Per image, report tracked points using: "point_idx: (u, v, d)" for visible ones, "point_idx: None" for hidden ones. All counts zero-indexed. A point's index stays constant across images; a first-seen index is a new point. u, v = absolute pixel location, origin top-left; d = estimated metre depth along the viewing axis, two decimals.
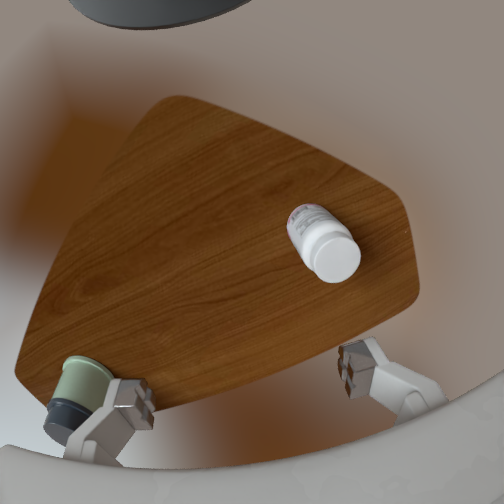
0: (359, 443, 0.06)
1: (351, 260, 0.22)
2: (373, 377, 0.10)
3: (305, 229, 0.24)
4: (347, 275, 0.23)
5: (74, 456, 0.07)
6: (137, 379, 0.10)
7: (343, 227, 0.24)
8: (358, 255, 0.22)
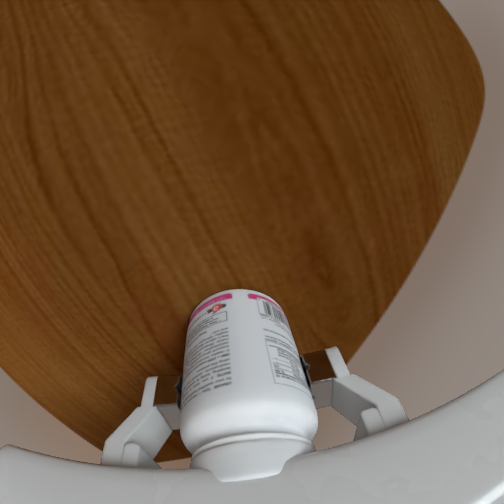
0: (359, 443, 0.06)
1: None
2: (333, 389, 0.09)
3: (293, 381, 0.09)
4: None
5: (114, 461, 0.07)
6: (176, 376, 0.10)
7: None
8: None
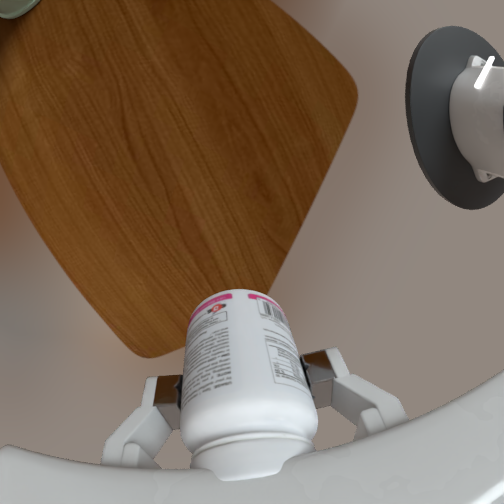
0: (359, 443, 0.06)
1: None
2: (333, 389, 0.09)
3: (293, 381, 0.09)
4: None
5: (114, 461, 0.07)
6: (176, 376, 0.10)
7: None
8: None
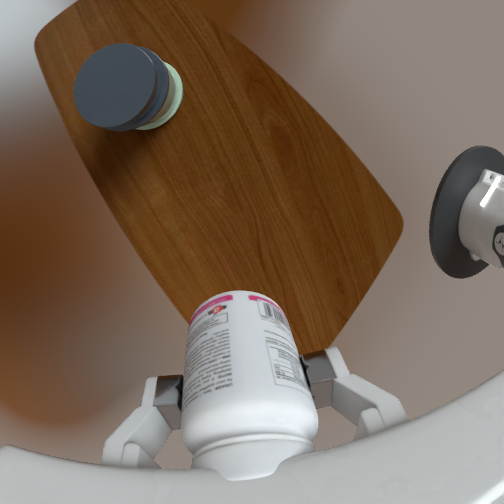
0: (359, 443, 0.06)
1: None
2: (333, 389, 0.09)
3: (293, 382, 0.09)
4: None
5: (114, 461, 0.07)
6: (176, 376, 0.10)
7: None
8: None
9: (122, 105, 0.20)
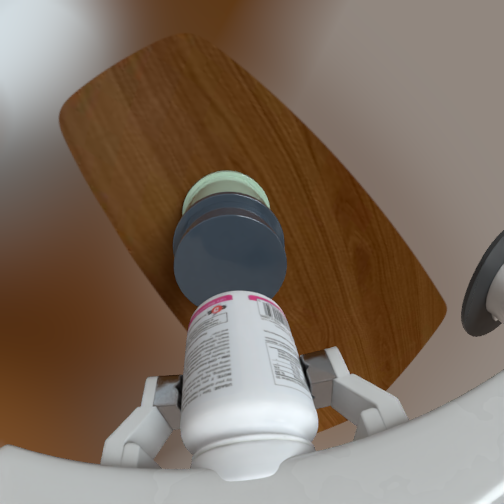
0: (359, 443, 0.06)
1: None
2: (333, 389, 0.09)
3: (293, 382, 0.09)
4: None
5: (114, 461, 0.07)
6: (176, 376, 0.10)
7: None
8: None
9: None
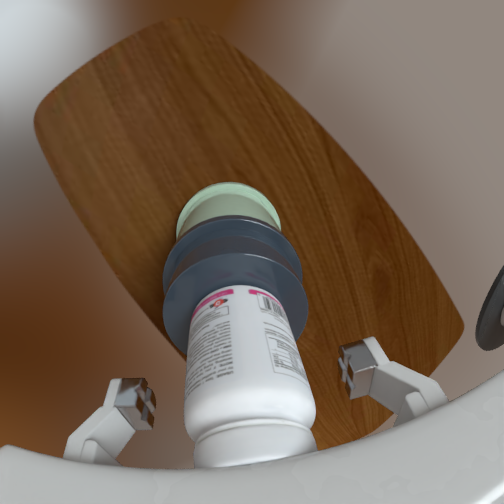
0: (359, 443, 0.06)
1: None
2: (373, 377, 0.10)
3: (291, 370, 0.09)
4: None
5: (74, 456, 0.07)
6: (137, 379, 0.10)
7: None
8: None
9: None
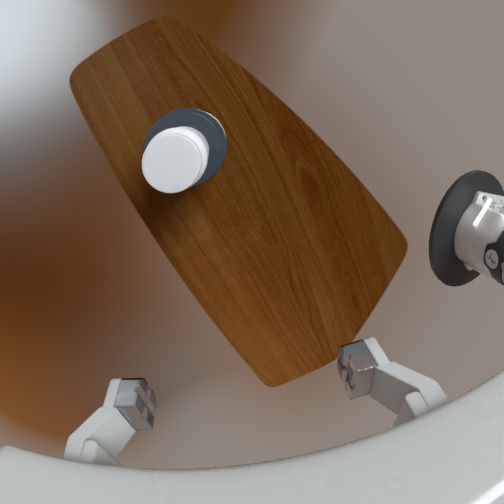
0: (359, 443, 0.06)
1: (172, 181, 0.18)
2: (373, 377, 0.10)
3: (194, 132, 0.20)
4: (152, 180, 0.18)
5: (74, 456, 0.07)
6: (137, 379, 0.10)
7: (202, 172, 0.21)
8: (178, 189, 0.19)
9: None
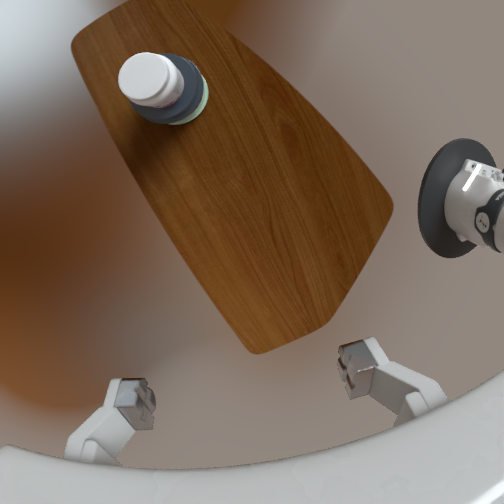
0: (359, 443, 0.06)
1: (142, 89, 0.19)
2: (373, 377, 0.10)
3: None
4: (125, 89, 0.18)
5: (74, 456, 0.07)
6: (137, 379, 0.10)
7: (171, 88, 0.21)
8: (147, 95, 0.19)
9: None
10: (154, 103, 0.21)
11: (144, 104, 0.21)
